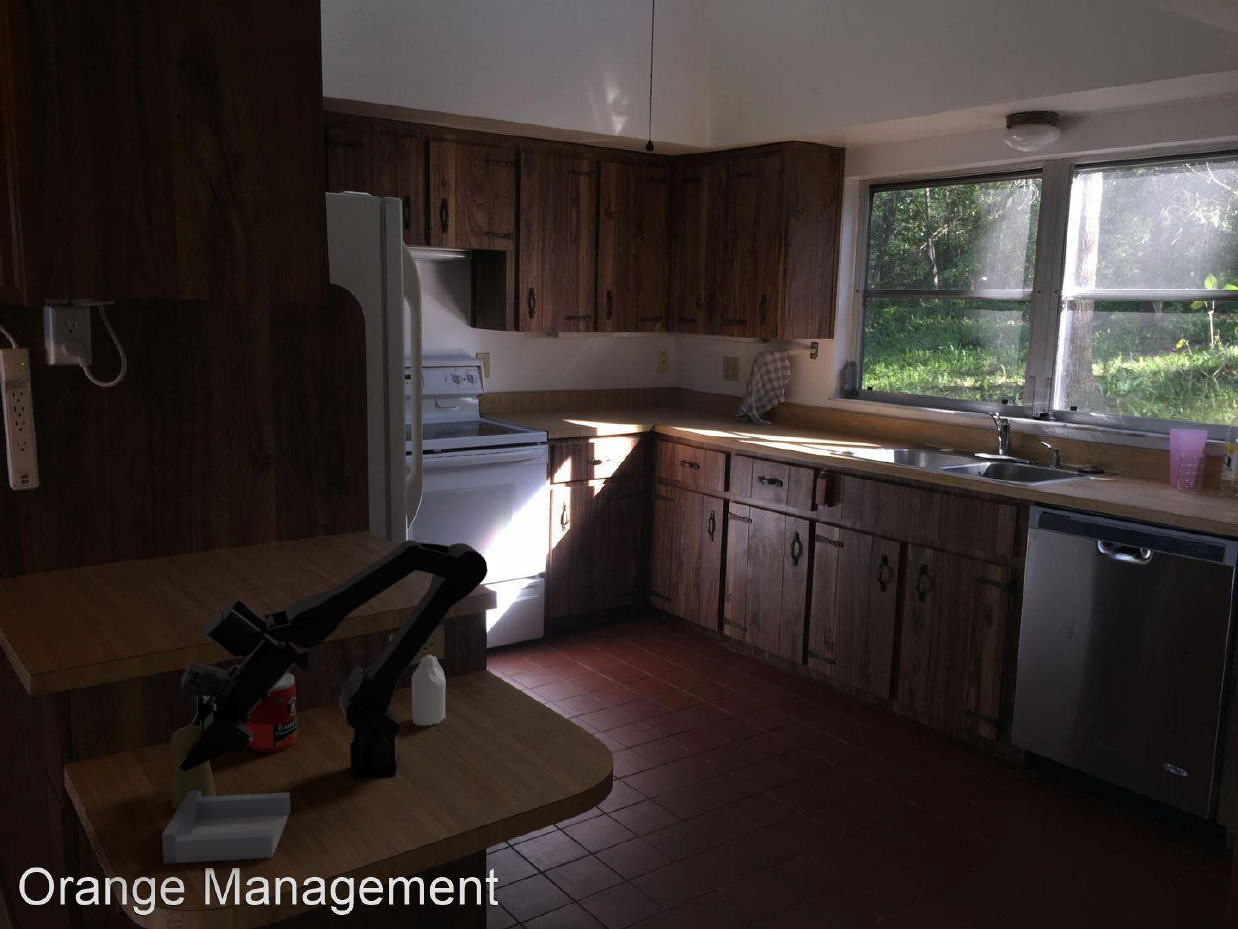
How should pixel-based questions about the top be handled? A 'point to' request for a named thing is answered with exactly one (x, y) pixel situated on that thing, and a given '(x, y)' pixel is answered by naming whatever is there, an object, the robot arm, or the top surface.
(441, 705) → the white milk jug
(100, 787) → the top surface
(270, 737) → the canned food
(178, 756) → the olive rounded tall piece
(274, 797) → the shallow grey tray
